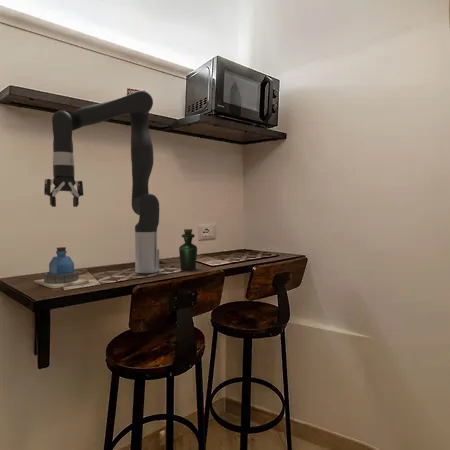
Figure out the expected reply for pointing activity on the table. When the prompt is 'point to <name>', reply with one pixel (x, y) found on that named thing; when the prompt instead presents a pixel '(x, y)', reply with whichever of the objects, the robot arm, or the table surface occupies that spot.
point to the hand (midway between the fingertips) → (64, 206)
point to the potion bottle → (188, 252)
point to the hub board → (81, 281)
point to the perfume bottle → (61, 263)
